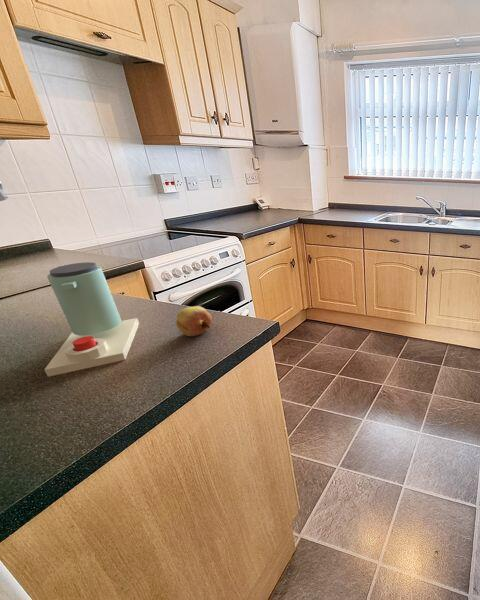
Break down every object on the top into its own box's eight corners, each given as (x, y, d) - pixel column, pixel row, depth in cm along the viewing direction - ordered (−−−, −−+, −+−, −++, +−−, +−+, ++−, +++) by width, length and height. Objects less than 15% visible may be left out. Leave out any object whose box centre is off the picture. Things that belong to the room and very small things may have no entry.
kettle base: (125, 360, 69) (119, 345, 68) (47, 377, 64) (39, 361, 62) (139, 324, 84) (134, 311, 82) (77, 335, 78) (71, 322, 77)
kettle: (115, 333, 72) (91, 272, 66) (64, 343, 68) (34, 279, 63) (126, 311, 82) (106, 257, 77) (82, 319, 79) (57, 262, 73)
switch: (94, 349, 67) (91, 341, 66) (73, 353, 66) (69, 345, 65) (98, 342, 70) (95, 334, 69) (78, 346, 68) (75, 338, 68)
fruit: (160, 312, 76) (184, 322, 71) (188, 295, 81) (212, 303, 76) (176, 335, 80) (200, 345, 75) (202, 317, 85) (226, 326, 80)
